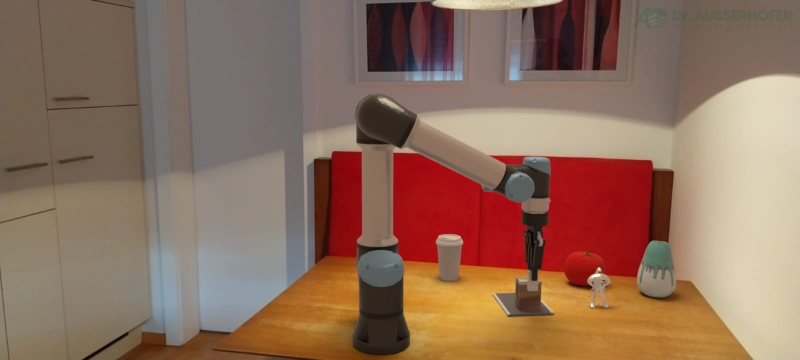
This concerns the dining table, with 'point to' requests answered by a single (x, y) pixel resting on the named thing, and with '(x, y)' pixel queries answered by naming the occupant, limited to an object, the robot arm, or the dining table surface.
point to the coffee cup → (449, 256)
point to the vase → (657, 270)
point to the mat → (511, 310)
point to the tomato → (582, 267)
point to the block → (527, 295)
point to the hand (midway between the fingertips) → (532, 290)
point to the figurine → (598, 286)
